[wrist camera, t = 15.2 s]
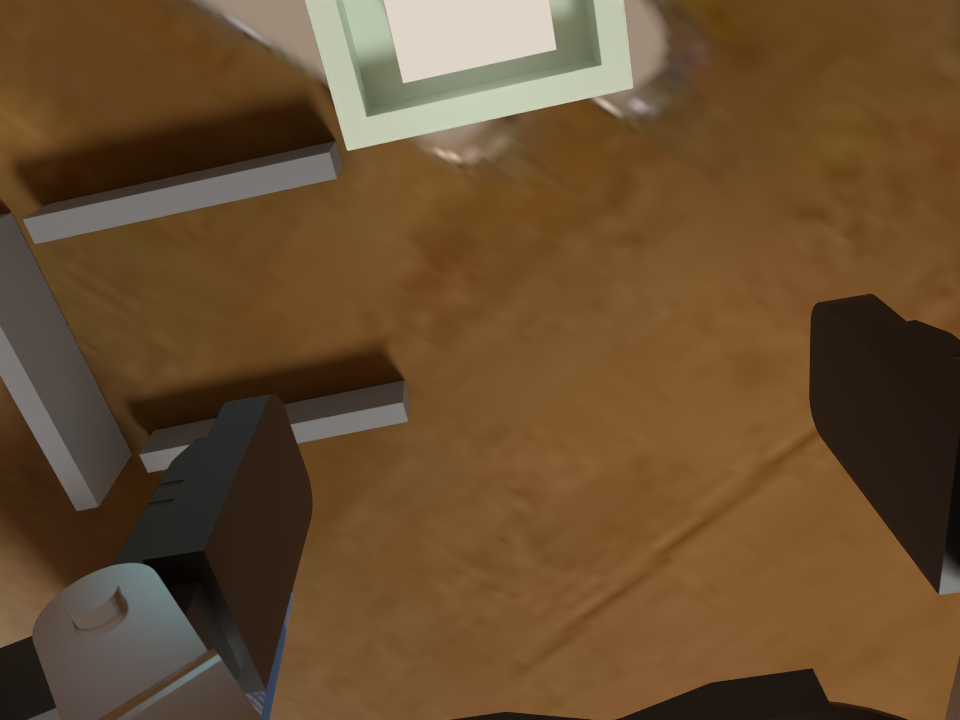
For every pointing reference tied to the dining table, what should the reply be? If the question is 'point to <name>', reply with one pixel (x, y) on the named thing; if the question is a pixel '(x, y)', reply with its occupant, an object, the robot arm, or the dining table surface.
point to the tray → (469, 93)
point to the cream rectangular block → (465, 33)
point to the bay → (62, 368)
